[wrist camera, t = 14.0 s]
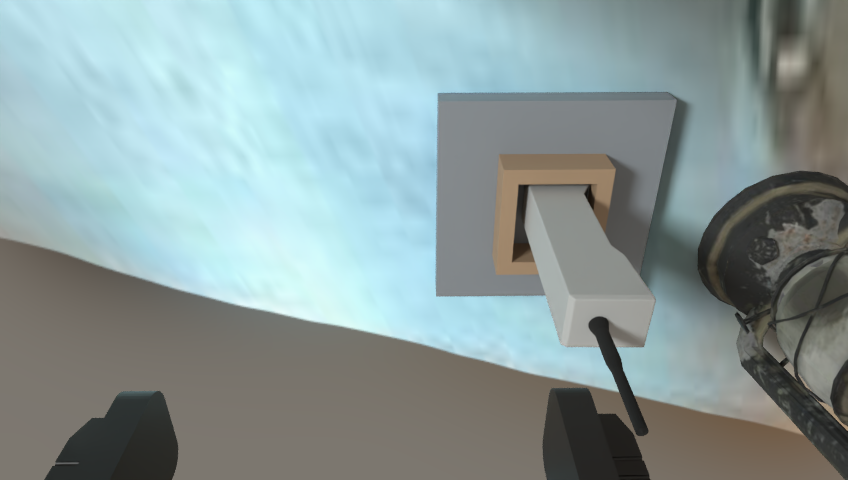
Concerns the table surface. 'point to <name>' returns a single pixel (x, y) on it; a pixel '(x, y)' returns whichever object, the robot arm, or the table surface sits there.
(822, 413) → the lantern
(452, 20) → the table surface
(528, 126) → the square socket base
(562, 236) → the vintage mobile phone
